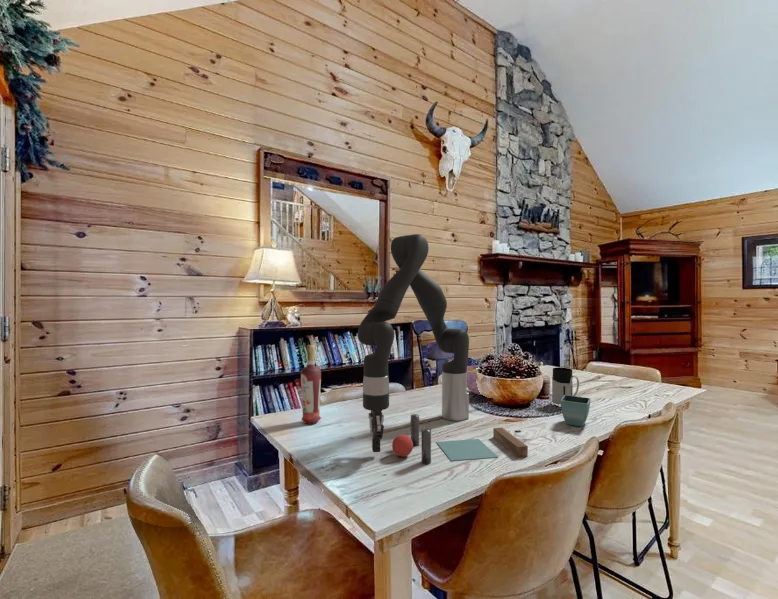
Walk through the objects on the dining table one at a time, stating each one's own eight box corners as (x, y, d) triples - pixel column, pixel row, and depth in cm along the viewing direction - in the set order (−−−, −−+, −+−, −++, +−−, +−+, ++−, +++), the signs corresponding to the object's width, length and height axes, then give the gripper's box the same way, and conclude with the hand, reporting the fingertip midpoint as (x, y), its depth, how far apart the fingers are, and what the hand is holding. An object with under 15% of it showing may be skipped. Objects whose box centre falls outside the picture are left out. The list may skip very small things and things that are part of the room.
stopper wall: (502, 436, 128) (502, 427, 128) (527, 456, 113) (527, 446, 113) (493, 437, 128) (493, 428, 128) (517, 457, 112) (517, 446, 112)
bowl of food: (453, 392, 185) (453, 368, 185) (482, 387, 196) (482, 363, 196) (486, 402, 169) (486, 375, 168) (515, 395, 180) (516, 370, 180)
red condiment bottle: (325, 421, 144) (325, 345, 143) (308, 426, 138) (308, 347, 138) (313, 417, 149) (313, 343, 148) (296, 422, 143) (296, 345, 143)
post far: (417, 442, 123) (417, 414, 123) (420, 445, 121) (420, 416, 121) (409, 443, 123) (409, 414, 123) (411, 446, 120) (411, 417, 120)
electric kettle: (564, 401, 170) (564, 366, 170) (587, 411, 156) (588, 373, 156) (546, 402, 168) (546, 367, 168) (568, 412, 154) (568, 374, 154)
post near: (429, 460, 110) (429, 428, 110) (432, 464, 108) (432, 431, 108) (420, 460, 110) (420, 428, 110) (422, 464, 107) (422, 431, 107)
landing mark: (478, 439, 126) (478, 438, 126) (498, 457, 112) (498, 456, 112) (436, 442, 124) (436, 441, 124) (451, 461, 110) (451, 460, 110)
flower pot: (588, 429, 135) (588, 403, 135) (560, 425, 139) (560, 400, 139) (590, 422, 142) (590, 397, 142) (564, 418, 147) (564, 394, 147)
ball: (393, 430, 116) (392, 449, 117) (392, 439, 110) (391, 459, 111) (413, 431, 116) (412, 451, 116) (413, 440, 110) (412, 461, 111)
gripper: (393, 396, 107) (393, 459, 107) (385, 385, 120) (385, 441, 120) (365, 397, 106) (365, 461, 106) (360, 386, 119) (360, 443, 119)
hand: (376, 451), depth 113 cm, fingers closed
